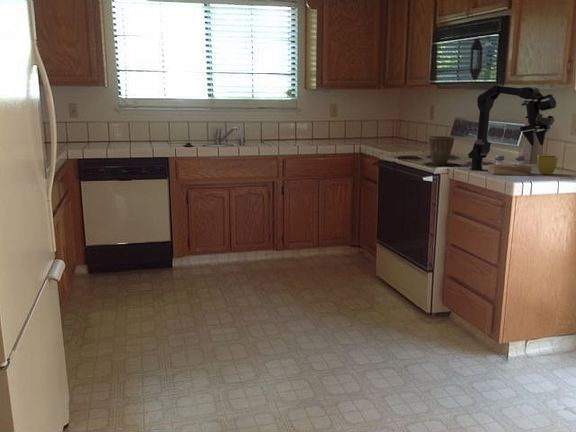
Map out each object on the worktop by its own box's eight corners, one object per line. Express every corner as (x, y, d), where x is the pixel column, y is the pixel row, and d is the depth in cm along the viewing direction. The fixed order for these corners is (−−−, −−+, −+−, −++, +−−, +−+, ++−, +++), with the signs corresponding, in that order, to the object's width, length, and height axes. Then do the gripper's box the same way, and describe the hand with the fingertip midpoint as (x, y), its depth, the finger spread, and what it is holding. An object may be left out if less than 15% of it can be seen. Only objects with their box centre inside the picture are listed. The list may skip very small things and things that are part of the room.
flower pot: (556, 175, 269) (557, 157, 267) (536, 174, 272) (538, 156, 270) (554, 173, 277) (556, 155, 275) (535, 172, 280) (537, 155, 278)
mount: (487, 172, 282) (488, 164, 281) (524, 172, 280) (524, 164, 279) (493, 174, 272) (493, 166, 271) (530, 175, 270) (531, 167, 270)
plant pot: (458, 165, 316) (459, 137, 313) (435, 166, 312) (437, 137, 308) (443, 162, 330) (444, 136, 327) (421, 163, 326) (423, 136, 322)
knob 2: (513, 167, 277) (514, 155, 276) (522, 167, 277) (523, 155, 276) (516, 167, 273) (517, 156, 272) (525, 168, 273) (526, 156, 272)
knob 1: (493, 166, 278) (494, 155, 277) (502, 166, 278) (503, 155, 277) (495, 167, 274) (496, 156, 273) (504, 167, 274) (505, 156, 273)
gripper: (540, 109, 252) (544, 142, 252) (559, 109, 263) (563, 141, 264) (517, 114, 260) (521, 146, 261) (536, 114, 272) (540, 145, 272)
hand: (537, 145), depth 264 cm, fingers open, 9 cm apart
